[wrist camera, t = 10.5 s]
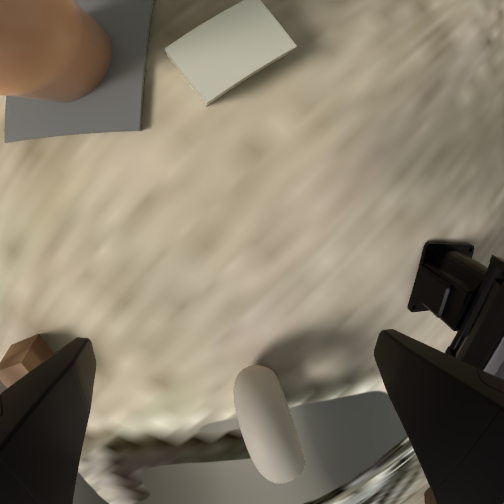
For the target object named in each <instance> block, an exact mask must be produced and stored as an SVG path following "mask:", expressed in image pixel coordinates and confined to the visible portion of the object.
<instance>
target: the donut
mask: <svg viewBox="0 0 504 504" xmlns="http://www.w3.org/2000/svg"><path fill="white" fill-rule="evenodd" d="M233 392H234V403H235V408H236V414H237V418H238V421H239V425H240V429H241V432H242V435H243V438H244V441H245V444H246V447H247V449H248V452H249V454H250V456H251V459H252V461H253V463H254V464H255V466H256V468H257V469H258V471H259V472H260V473H261V474H262V475H263V476H264V477H265V478H266V479H267V480H269V481H271V482H273V483H280V484H281V483H288V482H290V481H292V480H294V479H296V478H297V477H298V476H299V475H300V474H301V473H302V471H303V469H304V465H305V460H304V454H303V450H302V447H301V444H300V440H299V437H298V434H297V431H296V428H295V425H294V422H293V419H292V416H291V413H290V410H289V407H288V404H287V401H286V398H285V396H284V393H283V390H282V387H281V385H280V382H279V380H278V378H277V376H276V374H275V373H274V372H273V371H272V370H271V369H269V368H267V367H265V366H260V365H253V366H249V367H247V368H245V369H243V370H242V371H241V372H240V373H239V374H238V376H237V378H236V379H235V385H234V391H233Z"/></svg>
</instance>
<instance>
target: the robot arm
mask: <svg viewBox="0 0 504 504" xmlns="http://www.w3.org/2000/svg"><path fill="white" fill-rule="evenodd" d="M429 247H430V248H429ZM428 249H429V250H428ZM473 251H474V246H473V245H472V244H470V243H447V242H427V243H426V244H425V245H424V247H423V252H422V256H421V260H420V264H419V268H418V272H417V275H416V279H415V283H414V286H413V290H412V293H411V297H410V300H409V303H408V309H409V310H410V311H411V312H419V311H427V310H430V311H431V312H432V313H433V314H434V315H435V316H437V317H438V318H440V319H441V320H442V321H443V322H445V323H446V324H447V325H448V326H449V327H450V328H451V329H452V330H453V331H457V334H456V336H455V338H454V339H453V341H452V343H451V345H450V347H448V348H447V350H446V352H445V353H443V352H441V351H439V350H437V349H434V348H432V347H430V346H428V345H426V344H424V343H421V342H419V341H417V340H415V339H413V338H411V337H408V336H406V335H404V334H402V333H400V332H398V331H396V330H393V329H388V330H382V331H381V332H380V334H379V336H378V340H377V343H376V346H375V349H374V357H375V360H376V363H377V366H378V368H379V371H380V374H381V377H382V379H383V382H384V385H385V388H386V390H387V393H388V395H389V397H390V399H391V401H392V403H393V406H394V408H395V410H396V412H397V414H398V416H399V418H400V420H401V422H402V425H403V427H404V429H405V431H406V433H407V435H408V438H409V440H410V442H411V444H412V446H413V449H414V451H415V453H416V455H417V457H418V460H419V462H420V464H421V467H422V469H423V471H424V473H425V476H426V478H427V480H428V483H429V485H430V488H431V490H432V492H433V495H434V497H435V500H436V502H437V504H504V259H501V258H499V257H496V256H494V255H492V257H491V259H490V264H489V267H488V268H487V267H485V266H484V265H482V264H480V263H479V262H477V261H476V260H474V259H472V255H473ZM95 371H96V359H95V355H94V351H93V347H92V343H91V341H90V339H89V338H80V337H78V338H75V339H74V340H72V341H71V342H70V343H68V344H67V345H66V346H64V347H63V348H61V349H60V350H59V351H57V352H56V353H54V354H53V355H52V356H50V357H49V358H48V359H46V360H45V361H43V362H42V363H41V364H39V365H38V366H37V367H35V368H34V369H33V370H31V371H30V372H28V373H27V374H26V375H24V376H23V377H22V378H20V379H19V380H18V381H16V382H15V383H14V384H12V385H11V386H10V387H8V388H7V389H6V390H4V391H3V392H2V393H1V394H0V504H72V503H73V496H74V490H75V484H76V477H77V472H78V466H79V461H80V456H81V451H82V446H83V441H84V436H85V432H86V427H87V423H88V418H89V414H90V409H91V401H92V393H93V385H94V378H95Z"/></svg>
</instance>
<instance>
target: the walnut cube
mask: <svg viewBox="0 0 504 504" xmlns="http://www.w3.org/2000/svg"><path fill="white" fill-rule="evenodd" d="M52 355H53V353H52V352H51V351H50V349H49V348H48V347H47V345H46V344H45V342H44V341H43V340H42V338H41V337H40V335H39V334H37V335H35V336H32V337H30V338H27V339H25V340H23V341H20V342H18V343H15V344H13V345H11V346H10V348H9V350H8V351H7V353H6V354H5V356H4V357H3V359H2V361H1V362H0V380H1V381H2V382H3V384H4V385H5V386H6V387H7V388H8V387H10V386H11V385H12V384H14V383H15V382H16V381H18V380H19V379H20V378H22V377H23V376H24V375H26V374H27V373H28V372H30V371H31V370H33V369H34V368H35V367H37V366H38V365H39V364H41V363H42V362H43V361H45V360H46V359H48V358H49V357H50V356H52Z"/></svg>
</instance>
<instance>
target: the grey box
mask: <svg viewBox="0 0 504 504" xmlns="http://www.w3.org/2000/svg"><path fill="white" fill-rule="evenodd" d="M295 47H297V46H296V44H295V43H294V42H293V40H292V39H291V38H290V37H289V35H288V34H287V33H286V31H285V30H284V29H283V27H282V26H281V25H280V24H279V22H278V21H277V20H276V19H275V17H274V16H273V15H272V14H271V12H270V11H269V10H268V9H267V8H266V6H265V5H264V4H263V3H262V2H261V0H244V1H242V2H240V3H238V4H236V5H234V6H232V7H230V8H229V9H227V10H225V11H223V12H221V13H220V14H218V15H216V16H214V17H213V18H211V19H209V20H208V21H206V22H204V23H203V24H201V25H199V26H198V27H196V28H195V29H193V30H191V31H190V32H188V33H187V34H185V35H184V36H182V37H181V38H179V39H178V40H176V41H175V42H173V43H172V44H170V45H169V46H167V47H166V48H165V49H164V50H165V52H166V54H167V57H168V59H169V60H170V62H171V63H172V64H173V65H174V66H175V68H176V69H177V70H178V71H179V73H180V74H181V75H182V76H183V78H184V79H185V80H186V81H187V83H188V84H189V85H190V86H191V88H192V89H193V90H194V92H195V93H196V94H197V95H198V97H199V98H200V99H201V100H202V102H203V103H204V104H205V106H208V105H209V104H211V103H212V102H213V101H215V100H216V99H218V98H219V97H221V96H222V95H224V94H225V93H226V92H228V91H229V90H231V89H232V88H234V87H235V86H237V85H238V84H240V83H242V82H243V81H245V80H246V79H248V78H249V77H251V76H252V75H254V74H256V73H257V72H259V71H260V70H262V69H264V68H265V67H267V66H269V65H270V64H272V63H273V62H275V61H277V60H279V59H280V58H282V57H284V56H285V55H286V54H288V53H289V52H290V51H291V50H293V49H294V48H295Z"/></svg>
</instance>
